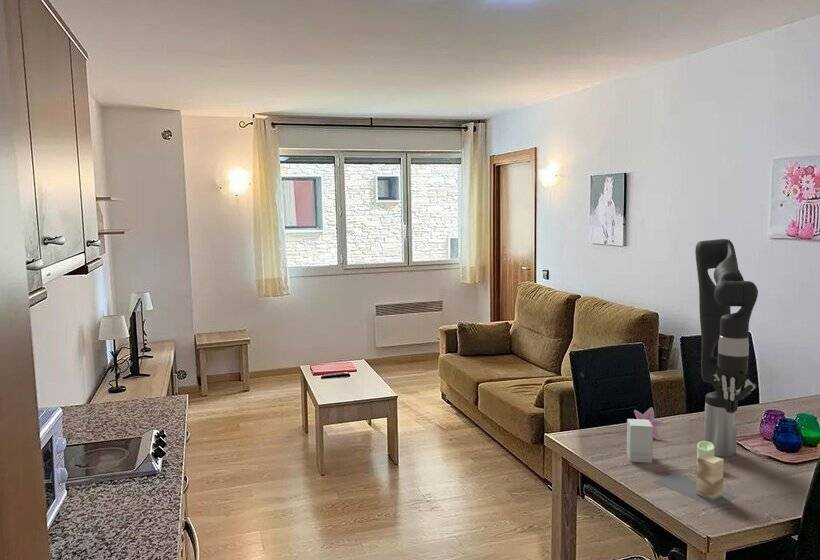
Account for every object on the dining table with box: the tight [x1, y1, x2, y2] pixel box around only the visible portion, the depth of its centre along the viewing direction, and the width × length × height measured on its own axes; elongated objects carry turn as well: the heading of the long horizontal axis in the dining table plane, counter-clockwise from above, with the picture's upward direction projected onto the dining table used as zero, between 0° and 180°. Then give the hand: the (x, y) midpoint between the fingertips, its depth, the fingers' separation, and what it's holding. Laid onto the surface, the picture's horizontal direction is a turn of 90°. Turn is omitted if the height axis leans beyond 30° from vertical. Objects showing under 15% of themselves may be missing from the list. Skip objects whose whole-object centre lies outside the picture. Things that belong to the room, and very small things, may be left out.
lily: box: [633, 407, 664, 441], centre depth 226 cm, size 12×12×10 cm
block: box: [696, 454, 725, 501], centre depth 176 cm, size 5×5×11 cm
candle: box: [696, 440, 714, 459], centre depth 196 cm, size 5×5×8 cm
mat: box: [653, 472, 738, 509], centre depth 181 cm, size 20×11×1 cm, turn 32°
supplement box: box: [626, 418, 654, 464], centre depth 205 cm, size 7×7×13 cm
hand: (730, 412), depth 170 cm, fingers closed
